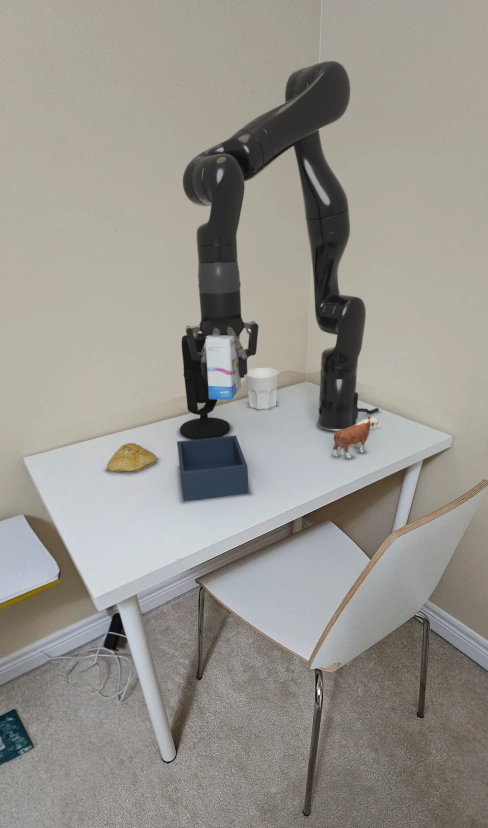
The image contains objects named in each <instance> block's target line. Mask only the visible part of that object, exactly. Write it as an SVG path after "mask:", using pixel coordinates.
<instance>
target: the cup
mask: <svg viewBox="0 0 488 828" xmlns="http://www.w3.org/2000/svg"><path fill="white" fill-rule="evenodd" d="M279 377H280V371H279V370H278V369H275V368H273V367H272V368H271V367H255V368H251V369H247V375H244V378H245V384H246V388H247V393H248V402H249V403H248V404H249V408H254V409H256V410H269V409H272V408H273V407H276V406H277V395H278V386H279Z"/></svg>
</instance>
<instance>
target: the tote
mask: <svg viewBox="0 0 488 828" xmlns="http://www.w3.org/2000/svg"><path fill="white" fill-rule="evenodd" d="M176 445H177V456H178V463H179V473H180V482H181V491H182V497H183V502H189V501H197V500H206V499H215V498H222V497H229V496H238V495H246V494H249V493H250V491H249V471H248V470H249V468H248V464H247V461H246V458H245V455H244V453H243V450H242V448H241V445H240V443H239V440H238V437H237V435H236V434H235V435H224V436H222V437H215V438H205V439H195V440H192V439H187V440H177V441H176Z"/></svg>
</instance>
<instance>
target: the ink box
mask: <svg viewBox="0 0 488 828" xmlns="http://www.w3.org/2000/svg"><path fill="white" fill-rule="evenodd" d="M206 338H207V339H206V340H205V341H206V358H207V373H208V389H209V399H217V400H223V401H224V400H225V401H232V400H233V399H234V398H235V396H236V394H237V393H238V392H239V390H240V389H241V388H242V378H240V376H239V357H240V355H239V353H238V351H237V349H236V347H235V345H234V340H235V339H234V336H229V335H219V336H207V337H206ZM238 340H239V341H240V342H241V334H240V335H239V337H238ZM236 344H237V343H236Z"/></svg>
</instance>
